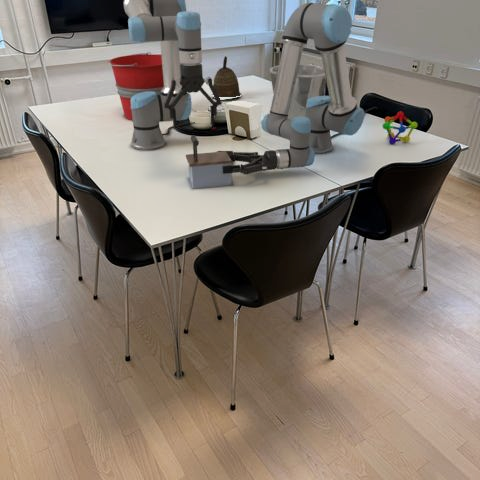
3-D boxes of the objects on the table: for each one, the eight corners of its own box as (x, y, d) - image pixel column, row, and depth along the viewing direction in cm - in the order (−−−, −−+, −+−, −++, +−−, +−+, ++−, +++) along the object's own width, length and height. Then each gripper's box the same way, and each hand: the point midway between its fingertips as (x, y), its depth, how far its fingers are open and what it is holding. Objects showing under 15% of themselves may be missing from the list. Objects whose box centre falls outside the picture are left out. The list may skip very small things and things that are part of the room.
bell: (227, 105, 294) (202, 96, 282) (238, 66, 289) (213, 55, 277) (243, 108, 280) (217, 98, 268) (255, 66, 275) (229, 55, 263)
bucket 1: (123, 105, 263) (116, 51, 247) (182, 106, 262) (179, 52, 247) (107, 123, 234) (97, 63, 218) (173, 124, 233) (168, 64, 217)
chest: (193, 188, 167) (191, 166, 162) (189, 178, 175) (187, 156, 170) (231, 184, 170) (231, 163, 165) (226, 174, 178) (225, 153, 173)
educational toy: (377, 146, 209) (379, 114, 202) (384, 138, 219) (386, 107, 211) (411, 149, 202) (415, 116, 195) (417, 141, 212) (420, 109, 204)
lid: (189, 166, 162) (188, 142, 157) (185, 157, 170) (184, 134, 165) (231, 162, 165) (231, 139, 160) (225, 153, 173) (225, 130, 169)
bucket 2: (296, 138, 215) (301, 78, 201) (255, 124, 234) (256, 68, 219) (335, 125, 232) (342, 70, 217) (294, 113, 251) (297, 61, 236)
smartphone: (215, 163, 186) (217, 150, 198) (215, 165, 186) (217, 152, 199) (232, 163, 186) (233, 150, 198) (232, 165, 186) (233, 152, 199)
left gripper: (154, 67, 143) (160, 131, 154) (229, 64, 148) (230, 126, 159) (152, 63, 149) (158, 125, 160) (224, 60, 154) (225, 120, 165)
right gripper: (284, 180, 167) (226, 185, 163) (266, 158, 186) (214, 163, 181) (285, 161, 163) (226, 166, 159) (267, 141, 182) (214, 145, 177)
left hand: (194, 126), depth 159 cm, fingers open, 13 cm apart
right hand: (220, 164), depth 170 cm, fingers closed on chest, 10 cm apart
